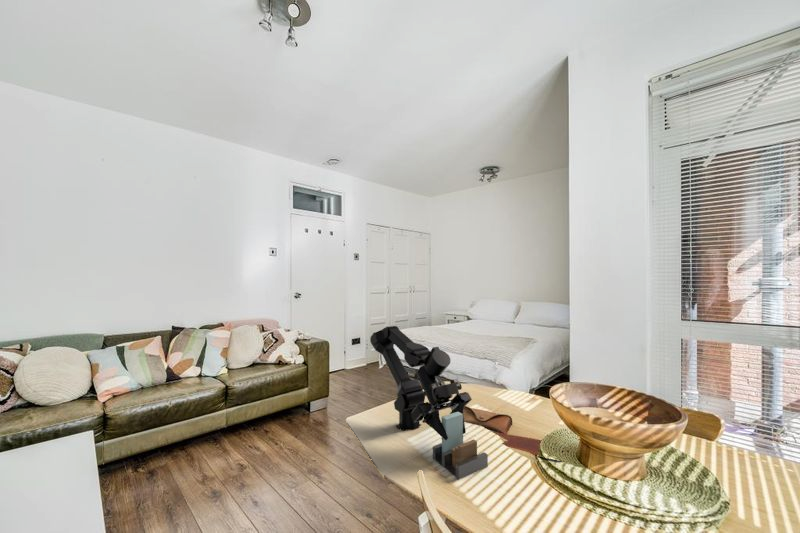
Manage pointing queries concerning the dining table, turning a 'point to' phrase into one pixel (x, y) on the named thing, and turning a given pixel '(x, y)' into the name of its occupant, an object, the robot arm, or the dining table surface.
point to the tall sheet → (452, 431)
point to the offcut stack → (464, 452)
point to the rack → (462, 467)
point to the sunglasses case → (487, 419)
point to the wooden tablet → (521, 443)
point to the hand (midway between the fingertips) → (455, 436)
